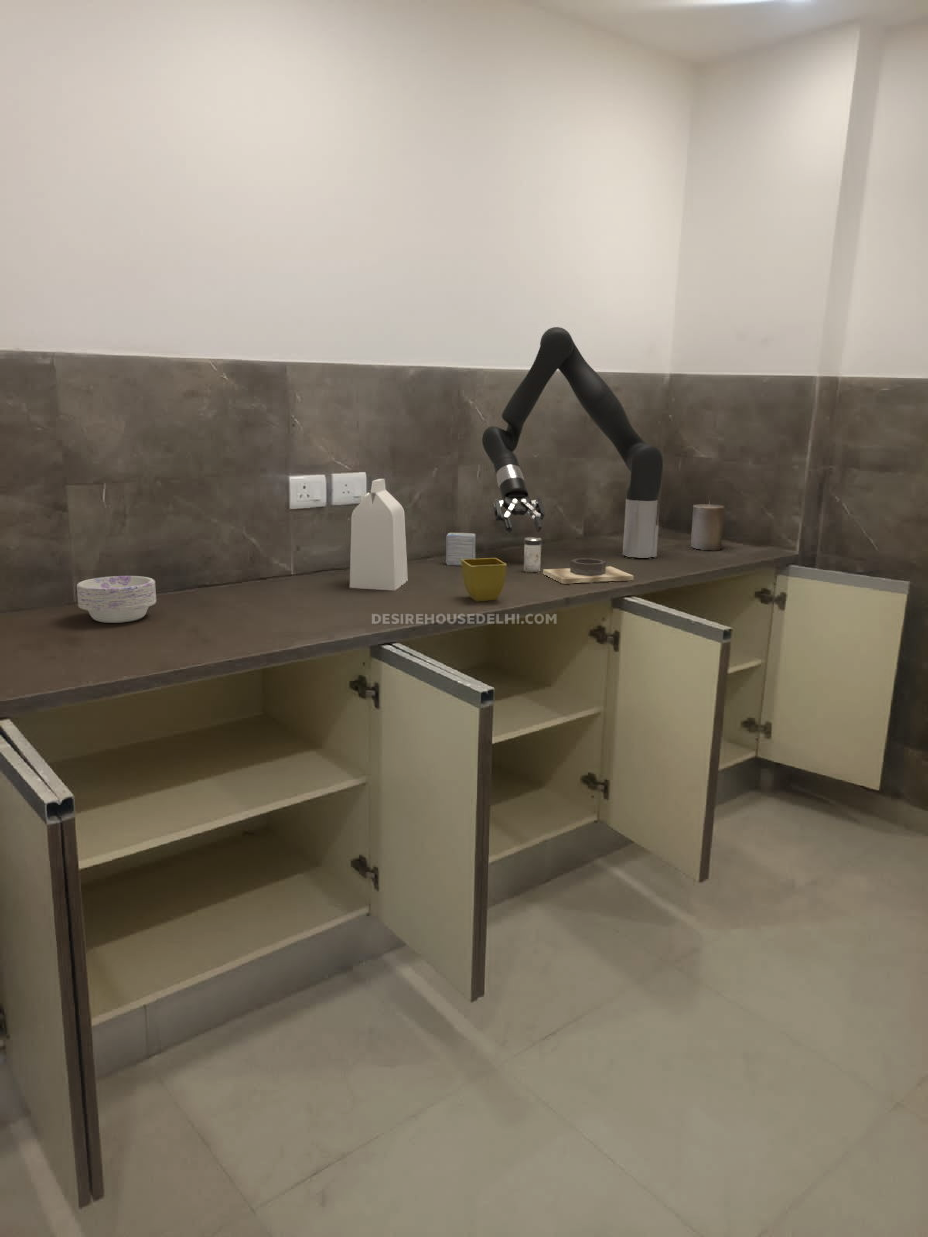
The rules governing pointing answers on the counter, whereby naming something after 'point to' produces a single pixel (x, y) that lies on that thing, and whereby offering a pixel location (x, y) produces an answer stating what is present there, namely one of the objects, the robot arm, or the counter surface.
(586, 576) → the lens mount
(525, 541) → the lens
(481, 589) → the flower pot
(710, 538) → the pillar candle
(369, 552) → the milk
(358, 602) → the counter surface
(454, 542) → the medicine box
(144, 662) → the counter surface
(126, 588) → the paper bowls
